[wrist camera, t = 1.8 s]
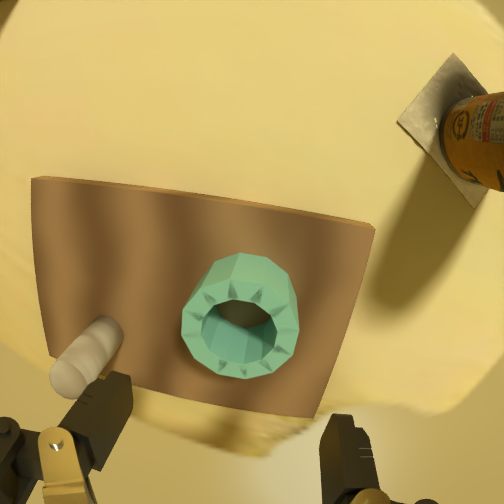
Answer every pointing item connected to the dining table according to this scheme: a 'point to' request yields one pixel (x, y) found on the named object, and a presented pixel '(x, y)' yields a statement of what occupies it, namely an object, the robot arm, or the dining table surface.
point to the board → (184, 287)
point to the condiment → (460, 129)
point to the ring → (237, 337)
